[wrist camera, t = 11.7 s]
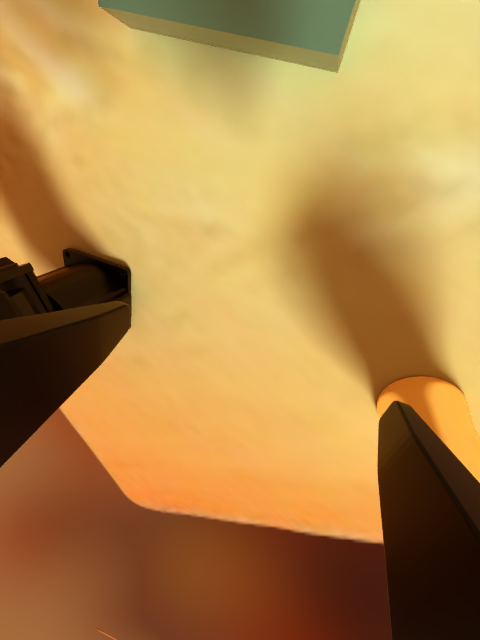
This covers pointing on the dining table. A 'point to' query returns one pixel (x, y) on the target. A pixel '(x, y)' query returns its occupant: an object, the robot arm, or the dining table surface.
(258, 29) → the green slotted board
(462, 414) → the beer glass
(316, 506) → the dining table surface
